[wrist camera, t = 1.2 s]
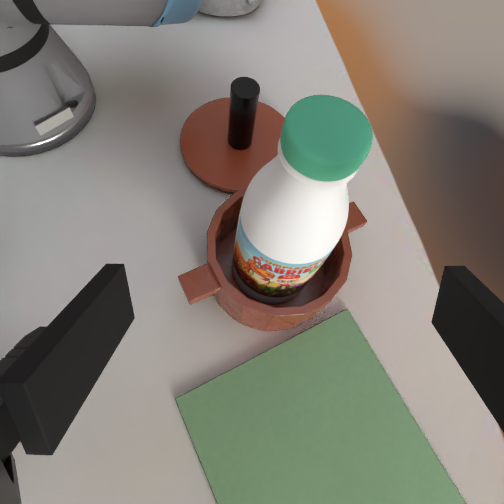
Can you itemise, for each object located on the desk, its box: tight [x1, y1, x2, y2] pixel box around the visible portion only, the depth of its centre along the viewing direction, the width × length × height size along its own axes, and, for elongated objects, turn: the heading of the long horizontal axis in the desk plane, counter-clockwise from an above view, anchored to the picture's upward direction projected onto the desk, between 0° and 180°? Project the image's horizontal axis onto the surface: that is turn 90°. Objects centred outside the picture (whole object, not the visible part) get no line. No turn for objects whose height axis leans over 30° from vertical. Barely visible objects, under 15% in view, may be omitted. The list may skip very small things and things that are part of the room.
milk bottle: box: [232, 95, 373, 304], centre depth 27 cm, size 8×8×20 cm
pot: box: [178, 187, 367, 331], centre depth 33 cm, size 12×18×6 cm
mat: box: [175, 309, 466, 504], centre depth 30 cm, size 20×18×1 cm
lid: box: [180, 77, 285, 193], centre depth 38 cm, size 13×13×9 cm
